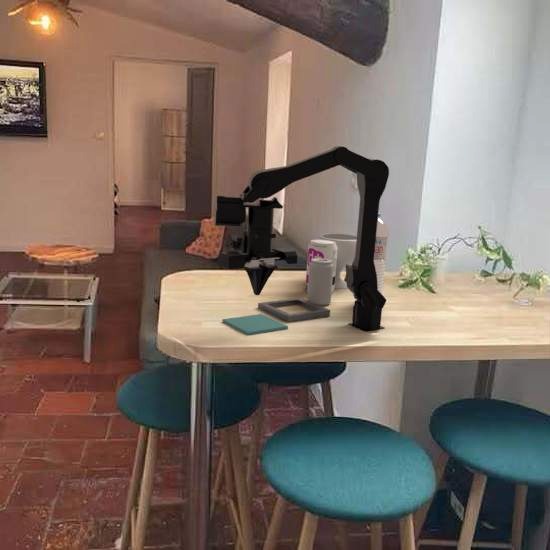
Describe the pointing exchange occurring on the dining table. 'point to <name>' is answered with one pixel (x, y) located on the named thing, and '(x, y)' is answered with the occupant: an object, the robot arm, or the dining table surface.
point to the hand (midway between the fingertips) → (256, 294)
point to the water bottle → (380, 252)
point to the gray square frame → (314, 313)
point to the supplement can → (322, 255)
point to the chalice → (342, 254)
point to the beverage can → (320, 281)
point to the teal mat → (255, 324)
